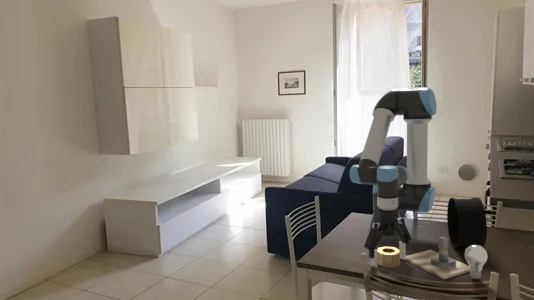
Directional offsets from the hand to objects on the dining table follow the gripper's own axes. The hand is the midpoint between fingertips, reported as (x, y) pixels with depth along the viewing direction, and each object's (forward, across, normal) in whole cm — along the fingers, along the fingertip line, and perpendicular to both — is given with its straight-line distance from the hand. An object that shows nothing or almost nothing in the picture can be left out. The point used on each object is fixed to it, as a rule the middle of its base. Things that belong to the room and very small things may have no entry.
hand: (388, 262), depth 159 cm
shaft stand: (0, +14, -10) cm, 17 cm away
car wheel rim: (0, +38, -2) cm, 38 cm away
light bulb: (+1, +16, -25) cm, 30 cm away
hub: (0, 0, 0) cm, 0 cm away
